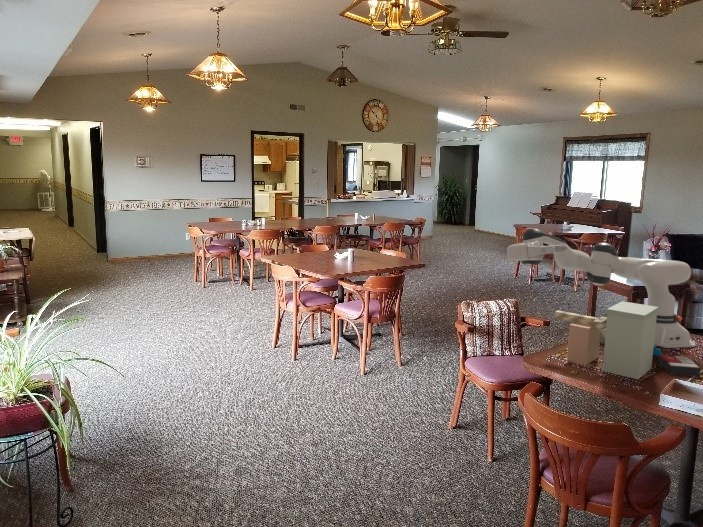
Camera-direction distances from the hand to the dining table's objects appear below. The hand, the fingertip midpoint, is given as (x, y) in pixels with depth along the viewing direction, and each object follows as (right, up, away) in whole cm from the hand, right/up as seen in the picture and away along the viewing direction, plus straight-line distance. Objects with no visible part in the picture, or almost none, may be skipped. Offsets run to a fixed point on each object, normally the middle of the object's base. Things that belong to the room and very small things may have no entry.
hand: (560, 248), depth 249 cm
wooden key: (+2, -32, -16) cm, 36 cm away
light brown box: (+4, -48, -15) cm, 51 cm away
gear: (+34, -48, -11) cm, 60 cm away
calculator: (+38, -51, -26) cm, 69 cm away
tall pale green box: (+17, -50, -27) cm, 60 cm away
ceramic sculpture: (+27, -45, +4) cm, 53 cm away
